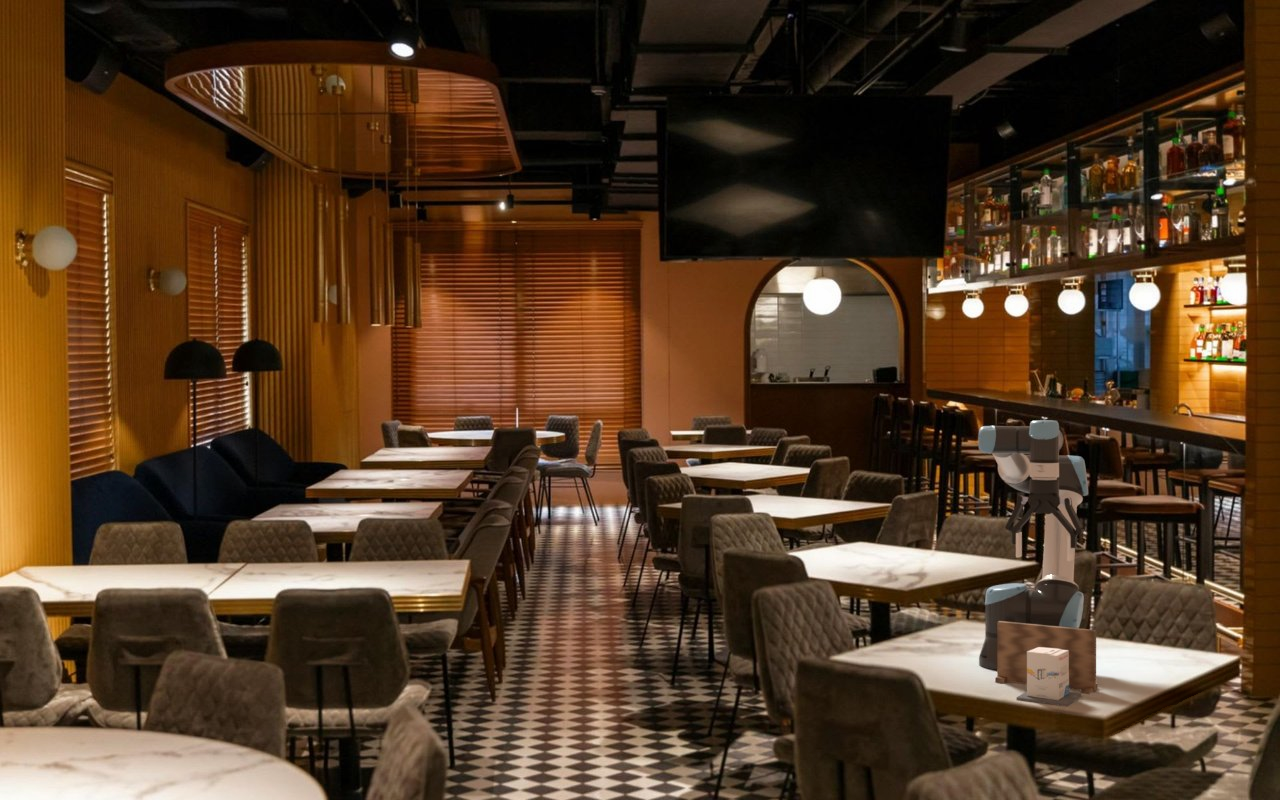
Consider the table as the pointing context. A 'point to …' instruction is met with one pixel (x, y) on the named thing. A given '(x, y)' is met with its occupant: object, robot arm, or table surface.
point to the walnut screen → (1030, 636)
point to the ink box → (1048, 673)
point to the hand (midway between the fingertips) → (1044, 558)
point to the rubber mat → (1063, 701)
